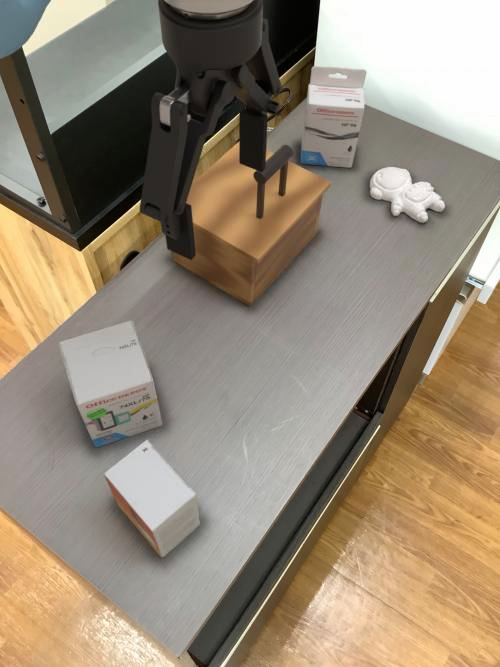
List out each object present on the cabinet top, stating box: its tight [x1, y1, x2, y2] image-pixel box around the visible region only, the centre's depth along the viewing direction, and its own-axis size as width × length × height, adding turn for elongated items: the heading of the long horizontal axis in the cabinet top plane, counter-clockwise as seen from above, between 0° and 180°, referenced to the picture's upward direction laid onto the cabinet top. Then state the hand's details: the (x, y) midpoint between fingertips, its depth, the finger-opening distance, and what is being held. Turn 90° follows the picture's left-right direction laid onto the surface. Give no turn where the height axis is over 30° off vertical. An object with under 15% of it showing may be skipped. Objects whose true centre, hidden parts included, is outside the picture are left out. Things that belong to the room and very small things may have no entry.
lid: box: [186, 141, 332, 263], centre depth 79 cm, size 15×17×9 cm
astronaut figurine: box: [369, 166, 446, 224], centre depth 96 cm, size 9×12×3 cm
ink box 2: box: [300, 65, 367, 169], centre depth 96 cm, size 8×5×15 cm, turn 86°
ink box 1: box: [58, 320, 163, 449], centre depth 72 cm, size 8×8×12 cm
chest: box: [171, 194, 324, 308], centre depth 87 cm, size 14×17×10 cm
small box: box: [103, 439, 201, 558], centre depth 65 cm, size 8×6×10 cm
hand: (218, 207), depth 62 cm, fingers open, 13 cm apart
